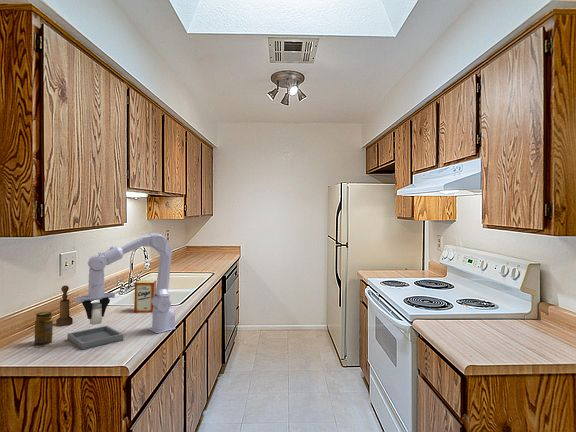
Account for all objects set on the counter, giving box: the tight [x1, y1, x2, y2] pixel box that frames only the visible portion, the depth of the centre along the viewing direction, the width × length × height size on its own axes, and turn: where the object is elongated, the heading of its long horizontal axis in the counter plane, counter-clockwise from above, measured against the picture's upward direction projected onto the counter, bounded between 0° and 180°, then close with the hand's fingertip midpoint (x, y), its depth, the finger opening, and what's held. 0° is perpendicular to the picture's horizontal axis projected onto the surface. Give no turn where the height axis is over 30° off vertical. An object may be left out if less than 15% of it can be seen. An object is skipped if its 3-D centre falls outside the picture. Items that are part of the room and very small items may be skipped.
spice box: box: [133, 279, 157, 314], centre depth 203 cm, size 10×6×16 cm
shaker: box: [89, 301, 103, 325], centre depth 158 cm, size 5×5×8 cm
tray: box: [67, 325, 124, 351], centre depth 158 cm, size 16×16×2 cm
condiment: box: [30, 311, 58, 348], centre depth 153 cm, size 7×8×12 cm
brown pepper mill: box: [55, 285, 74, 327], centre depth 177 cm, size 7×6×18 cm
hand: (95, 317), depth 158 cm, fingers closed on shaker, 4 cm apart
